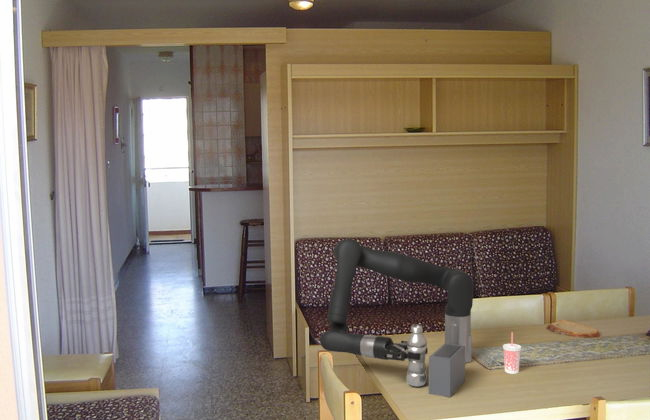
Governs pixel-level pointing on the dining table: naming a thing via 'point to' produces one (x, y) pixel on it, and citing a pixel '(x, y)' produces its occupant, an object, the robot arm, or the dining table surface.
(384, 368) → the dining table surface
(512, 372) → the beverage cup
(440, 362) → the box
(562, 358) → the dining table surface
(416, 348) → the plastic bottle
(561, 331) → the slice of bread
